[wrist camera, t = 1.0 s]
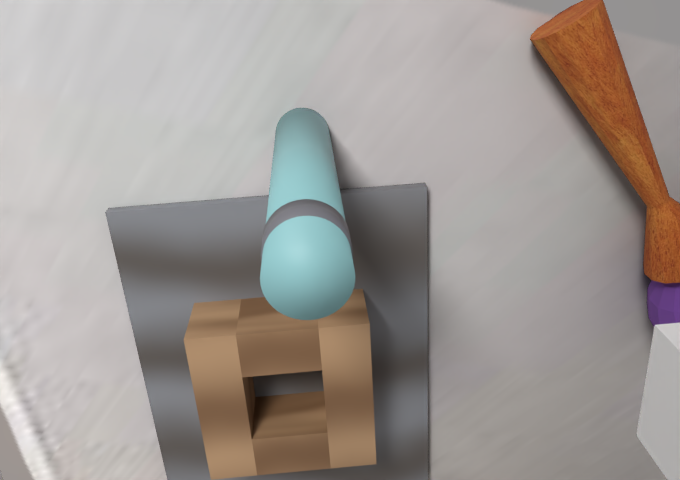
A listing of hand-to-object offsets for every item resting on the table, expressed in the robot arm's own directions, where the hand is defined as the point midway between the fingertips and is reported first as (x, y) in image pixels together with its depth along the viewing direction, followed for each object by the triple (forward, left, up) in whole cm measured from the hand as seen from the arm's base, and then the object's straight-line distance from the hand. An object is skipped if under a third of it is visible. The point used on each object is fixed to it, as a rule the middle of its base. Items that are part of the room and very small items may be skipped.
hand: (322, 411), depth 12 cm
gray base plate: (+13, -2, -20) cm, 24 cm away
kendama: (+4, +17, -21) cm, 27 cm away
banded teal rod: (0, 0, -20) cm, 20 cm away
